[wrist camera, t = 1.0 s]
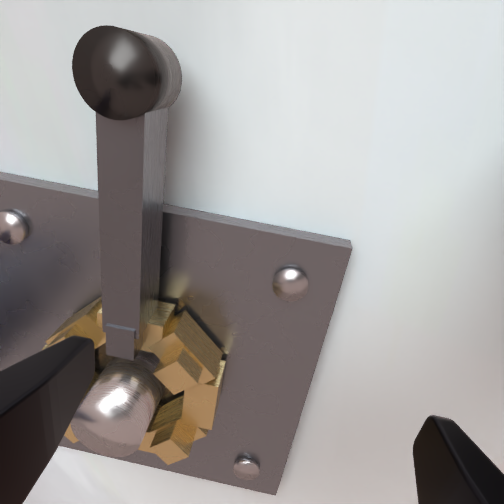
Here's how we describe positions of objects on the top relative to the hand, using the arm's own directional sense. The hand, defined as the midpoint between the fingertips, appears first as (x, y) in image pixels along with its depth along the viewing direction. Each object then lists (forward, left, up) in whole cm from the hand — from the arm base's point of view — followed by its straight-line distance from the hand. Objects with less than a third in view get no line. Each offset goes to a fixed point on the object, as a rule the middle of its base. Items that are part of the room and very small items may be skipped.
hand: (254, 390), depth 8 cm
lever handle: (+6, +5, -11) cm, 13 cm away
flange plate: (+6, +11, -12) cm, 18 cm away
